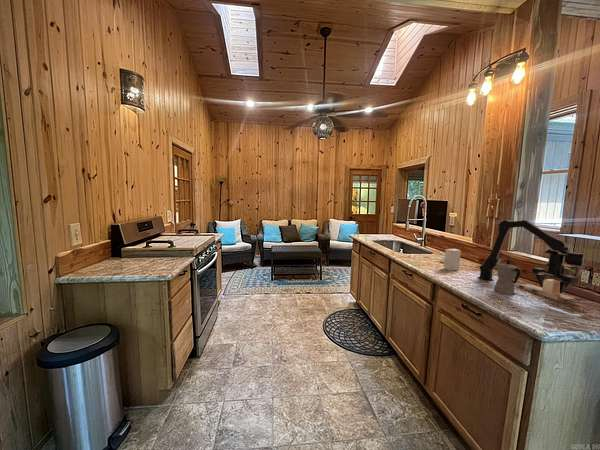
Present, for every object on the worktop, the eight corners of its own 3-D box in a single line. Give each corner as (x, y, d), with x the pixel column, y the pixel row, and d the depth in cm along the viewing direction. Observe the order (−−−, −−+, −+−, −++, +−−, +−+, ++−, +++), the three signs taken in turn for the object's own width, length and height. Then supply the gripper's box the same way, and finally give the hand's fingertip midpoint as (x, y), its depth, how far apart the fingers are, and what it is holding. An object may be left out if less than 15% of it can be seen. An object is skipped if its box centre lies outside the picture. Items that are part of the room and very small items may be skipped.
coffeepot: (487, 287, 156) (491, 257, 154) (503, 288, 156) (507, 258, 154) (507, 297, 141) (512, 264, 139) (525, 298, 141) (530, 265, 139)
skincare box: (452, 268, 197) (455, 248, 195) (459, 270, 191) (461, 250, 189) (443, 268, 195) (445, 248, 193) (449, 270, 189) (451, 250, 188)
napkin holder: (462, 265, 208) (463, 258, 207) (451, 266, 204) (452, 259, 203) (445, 260, 222) (446, 254, 221) (435, 261, 218) (436, 254, 217)
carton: (560, 294, 146) (562, 281, 145) (551, 294, 144) (553, 282, 143) (550, 291, 150) (552, 279, 149) (541, 291, 148) (543, 279, 148)
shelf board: (555, 302, 137) (555, 296, 137) (512, 287, 158) (512, 282, 158) (574, 300, 141) (575, 294, 140) (530, 285, 162) (531, 281, 161)
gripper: (587, 266, 138) (583, 295, 140) (547, 257, 156) (543, 283, 158) (572, 267, 135) (567, 296, 137) (532, 258, 153) (528, 284, 155)
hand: (551, 290), depth 147 cm, fingers open, 9 cm apart
